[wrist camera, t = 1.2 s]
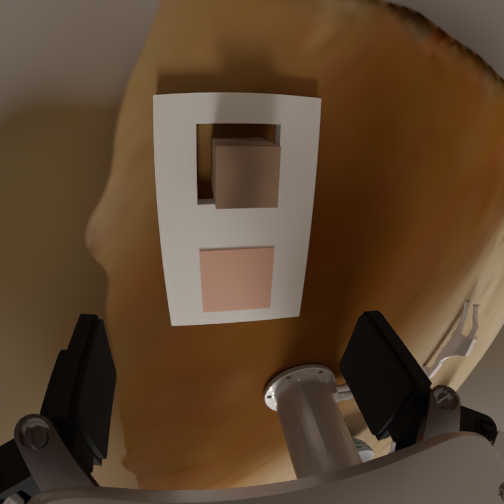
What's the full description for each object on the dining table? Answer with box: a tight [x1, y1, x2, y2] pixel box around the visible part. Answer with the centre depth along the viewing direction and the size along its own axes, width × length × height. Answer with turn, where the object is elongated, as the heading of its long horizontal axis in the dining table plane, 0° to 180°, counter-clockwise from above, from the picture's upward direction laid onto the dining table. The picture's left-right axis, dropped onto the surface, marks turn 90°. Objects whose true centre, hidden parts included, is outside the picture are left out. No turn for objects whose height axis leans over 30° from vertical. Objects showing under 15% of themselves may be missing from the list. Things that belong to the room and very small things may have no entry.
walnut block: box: [211, 137, 281, 209], centre depth 27 cm, size 5×5×8 cm
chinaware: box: [352, 438, 374, 463], centre depth 60 cm, size 15×15×8 cm
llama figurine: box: [421, 301, 479, 378], centre depth 50 cm, size 2×11×18 cm
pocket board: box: [153, 92, 321, 326], centre depth 32 cm, size 16×26×2 cm, turn 178°
